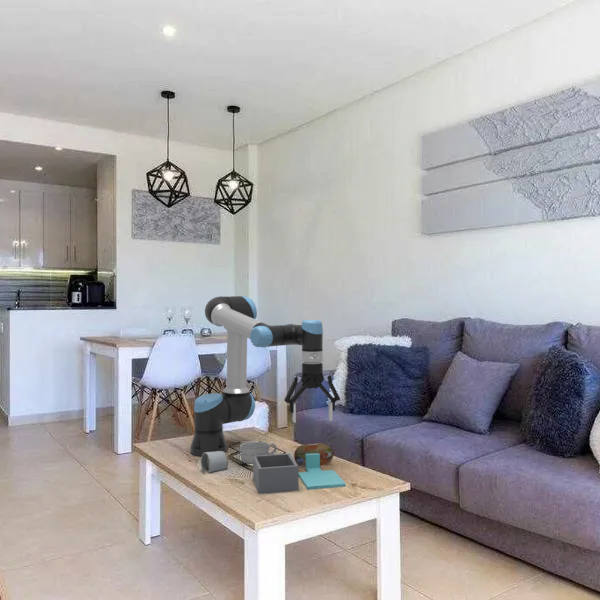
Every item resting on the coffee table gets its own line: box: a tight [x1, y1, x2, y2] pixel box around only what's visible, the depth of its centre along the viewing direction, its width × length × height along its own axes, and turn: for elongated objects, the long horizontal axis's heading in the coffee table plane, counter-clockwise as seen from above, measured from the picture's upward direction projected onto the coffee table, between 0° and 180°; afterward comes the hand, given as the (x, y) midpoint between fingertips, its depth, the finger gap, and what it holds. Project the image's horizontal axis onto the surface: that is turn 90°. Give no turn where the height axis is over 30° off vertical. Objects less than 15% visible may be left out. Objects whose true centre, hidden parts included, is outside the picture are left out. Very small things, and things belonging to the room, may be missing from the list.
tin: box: [293, 442, 334, 467], centre depth 208 cm, size 15×3×8 cm, turn 105°
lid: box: [298, 453, 347, 491], centre depth 191 cm, size 21×13×7 cm, turn 12°
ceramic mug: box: [200, 451, 229, 474], centre depth 203 cm, size 11×8×8 cm
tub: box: [252, 453, 300, 495], centre depth 184 cm, size 15×13×9 cm
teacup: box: [240, 441, 278, 465], centre depth 211 cm, size 14×11×8 cm
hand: (312, 420), depth 200 cm, fingers open, 13 cm apart
